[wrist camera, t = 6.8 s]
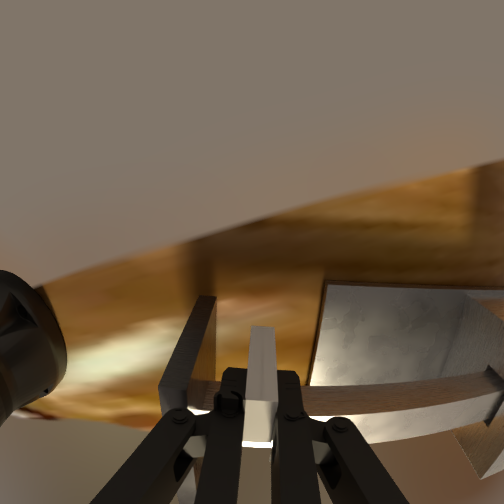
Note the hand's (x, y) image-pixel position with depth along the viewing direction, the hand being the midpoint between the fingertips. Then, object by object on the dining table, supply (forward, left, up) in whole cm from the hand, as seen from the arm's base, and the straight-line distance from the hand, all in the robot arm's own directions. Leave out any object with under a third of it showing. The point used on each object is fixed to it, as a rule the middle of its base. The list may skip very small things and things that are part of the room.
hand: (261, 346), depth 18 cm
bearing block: (+18, -5, -7) cm, 20 cm away
